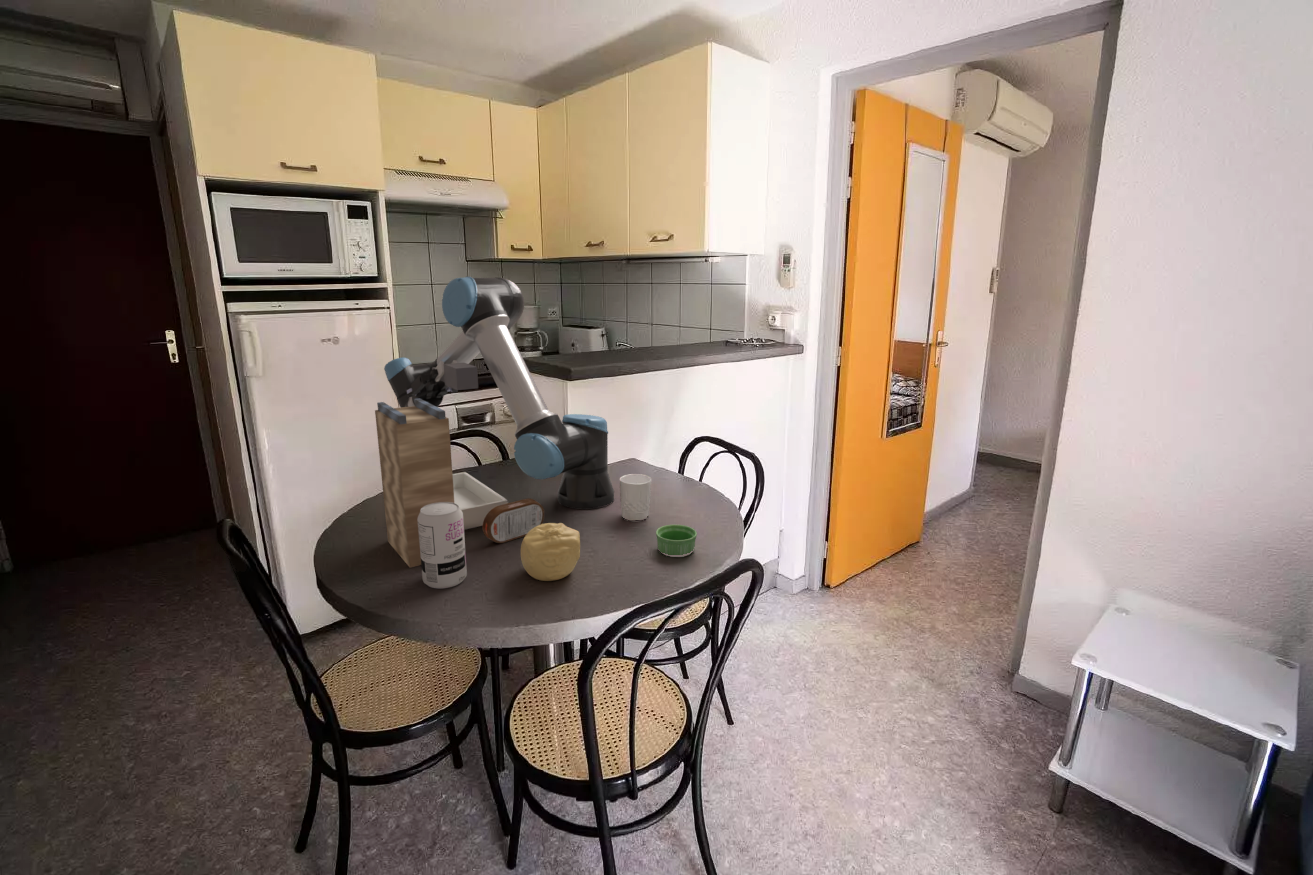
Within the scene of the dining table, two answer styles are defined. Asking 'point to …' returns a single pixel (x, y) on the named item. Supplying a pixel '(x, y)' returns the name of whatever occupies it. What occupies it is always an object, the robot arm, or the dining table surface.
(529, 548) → the sculpture
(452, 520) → the supplement can
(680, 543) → the ramekin
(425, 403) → the stand
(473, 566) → the dining table surface
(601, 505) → the robot arm
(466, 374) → the dark grey rectangular block
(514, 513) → the tin
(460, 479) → the bin
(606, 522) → the dining table surface
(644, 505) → the white cup
